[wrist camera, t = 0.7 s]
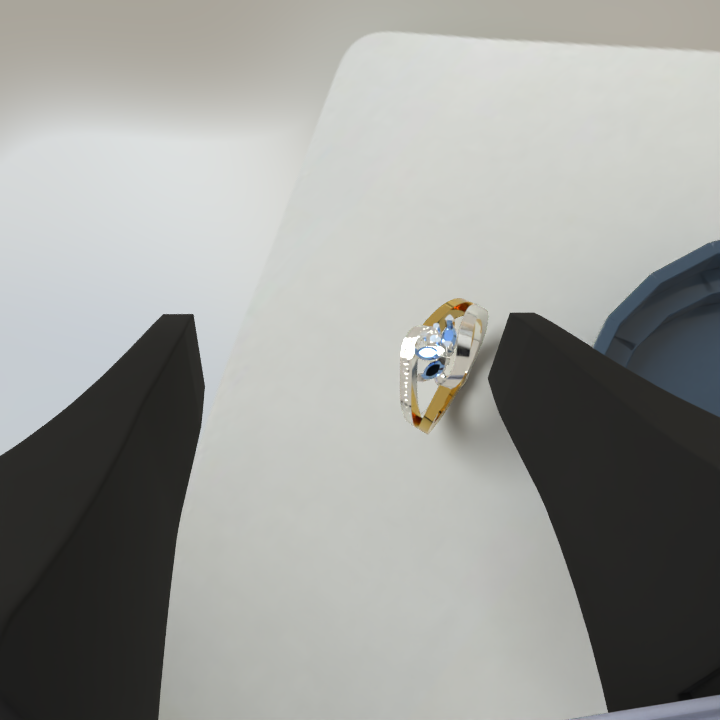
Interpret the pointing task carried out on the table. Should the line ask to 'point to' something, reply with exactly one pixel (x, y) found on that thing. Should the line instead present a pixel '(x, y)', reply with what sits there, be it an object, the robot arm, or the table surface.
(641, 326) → the bowl
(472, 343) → the ring
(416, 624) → the table surface
